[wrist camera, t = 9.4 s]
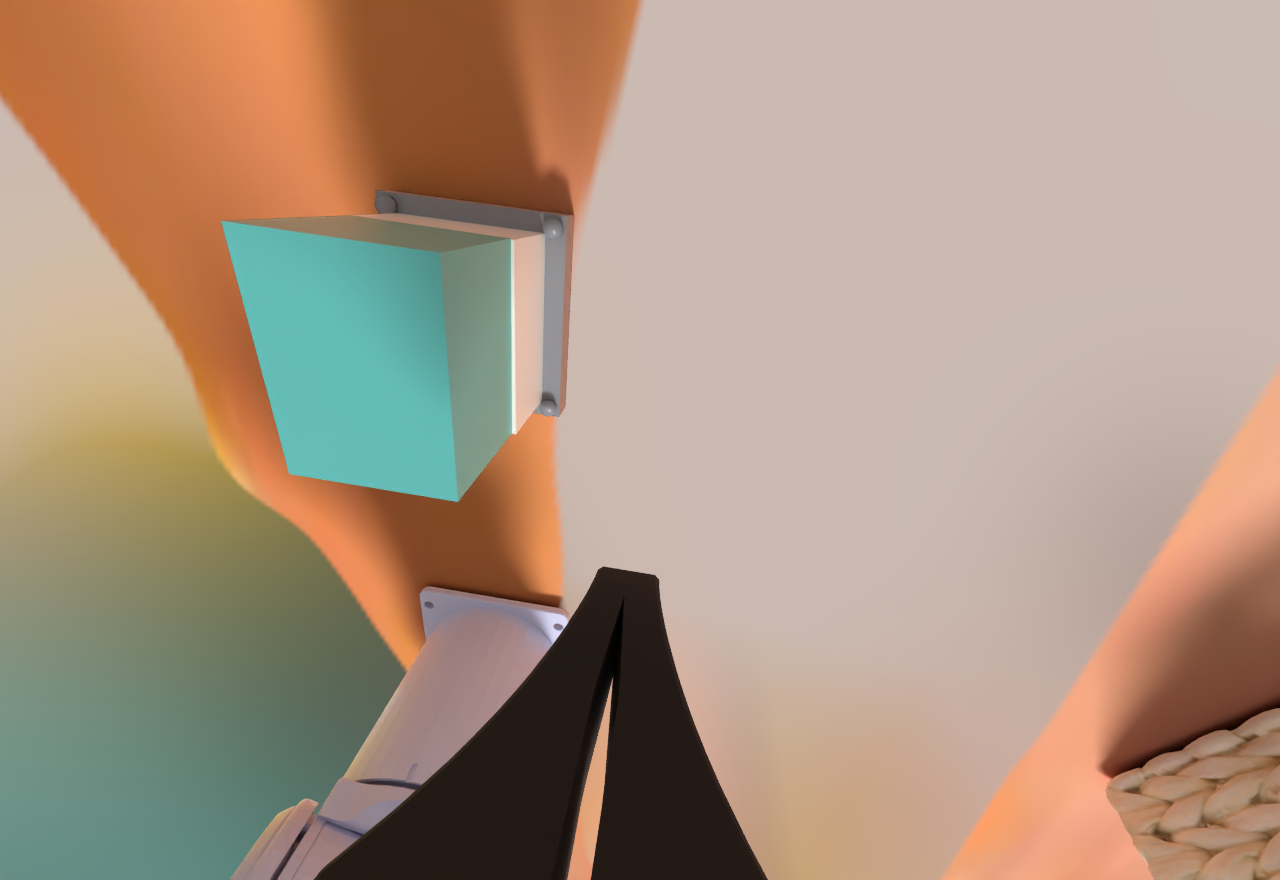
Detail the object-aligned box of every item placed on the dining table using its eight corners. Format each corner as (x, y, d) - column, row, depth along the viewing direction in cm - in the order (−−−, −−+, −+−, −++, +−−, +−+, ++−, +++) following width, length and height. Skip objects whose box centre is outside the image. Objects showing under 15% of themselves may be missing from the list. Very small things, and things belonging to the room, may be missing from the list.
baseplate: (565, 406, 19) (557, 419, 18) (415, 384, 20) (397, 395, 18) (573, 215, 16) (564, 216, 15) (393, 190, 16) (370, 189, 15)
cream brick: (542, 400, 18) (515, 434, 15) (417, 381, 18) (370, 412, 16) (545, 233, 15) (514, 240, 13) (398, 213, 16) (337, 215, 13)
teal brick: (512, 433, 15) (458, 502, 12) (381, 411, 16) (289, 473, 12) (511, 238, 13) (439, 253, 9) (351, 215, 13) (221, 220, 9)
